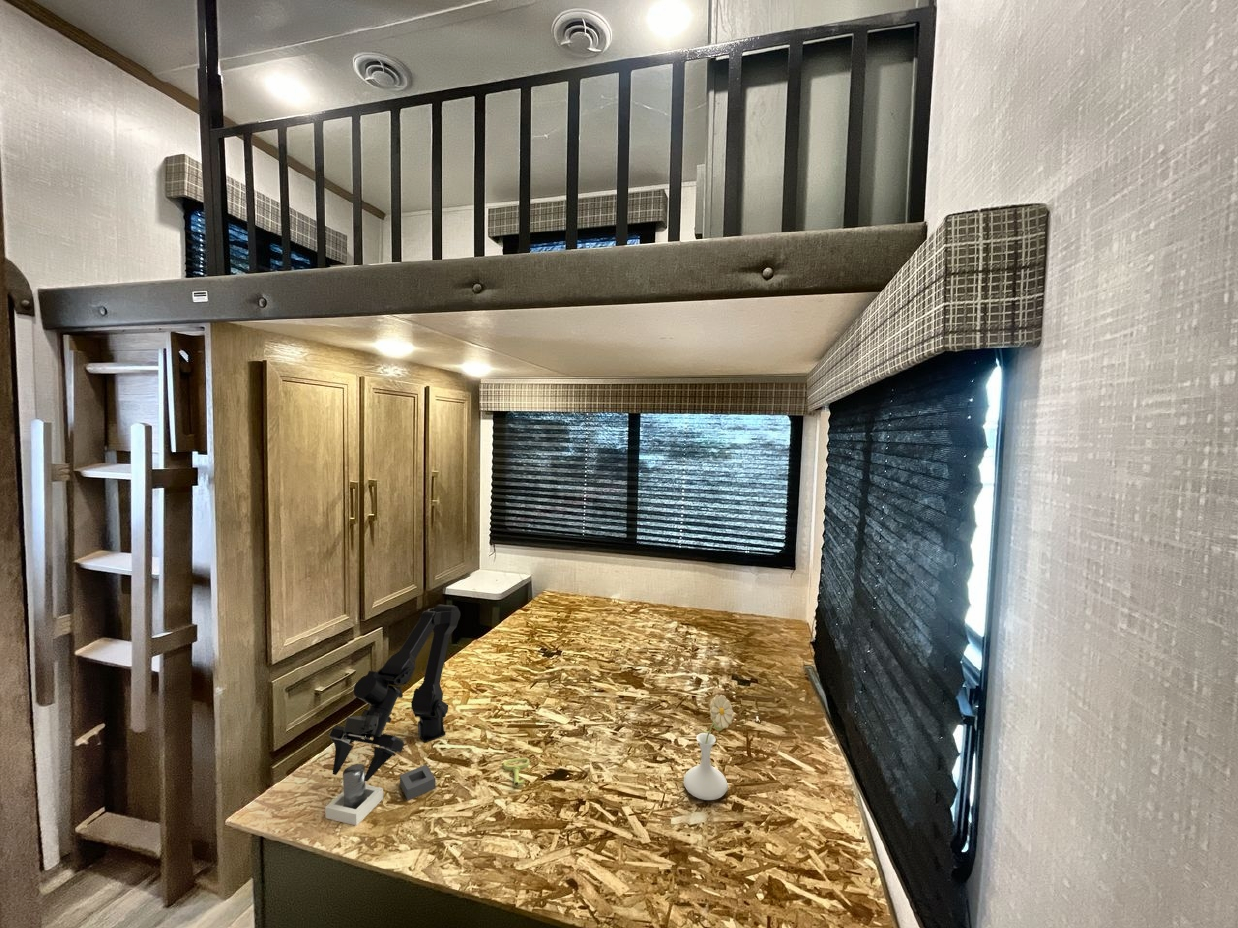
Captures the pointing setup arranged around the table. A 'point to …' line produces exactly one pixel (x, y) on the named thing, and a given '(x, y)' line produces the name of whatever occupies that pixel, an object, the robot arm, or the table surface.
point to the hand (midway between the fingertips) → (349, 777)
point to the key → (516, 769)
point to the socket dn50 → (354, 815)
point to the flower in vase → (704, 777)
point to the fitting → (354, 786)
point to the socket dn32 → (417, 782)
